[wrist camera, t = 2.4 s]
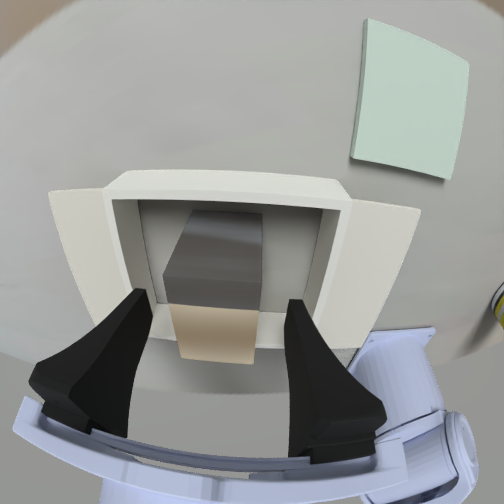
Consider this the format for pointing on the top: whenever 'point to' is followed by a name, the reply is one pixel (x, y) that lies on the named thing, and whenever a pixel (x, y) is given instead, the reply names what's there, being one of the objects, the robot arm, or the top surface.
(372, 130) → the tile
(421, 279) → the top surface
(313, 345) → the robot arm
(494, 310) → the supplement bottle
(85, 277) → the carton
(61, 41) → the top surface
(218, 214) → the block
